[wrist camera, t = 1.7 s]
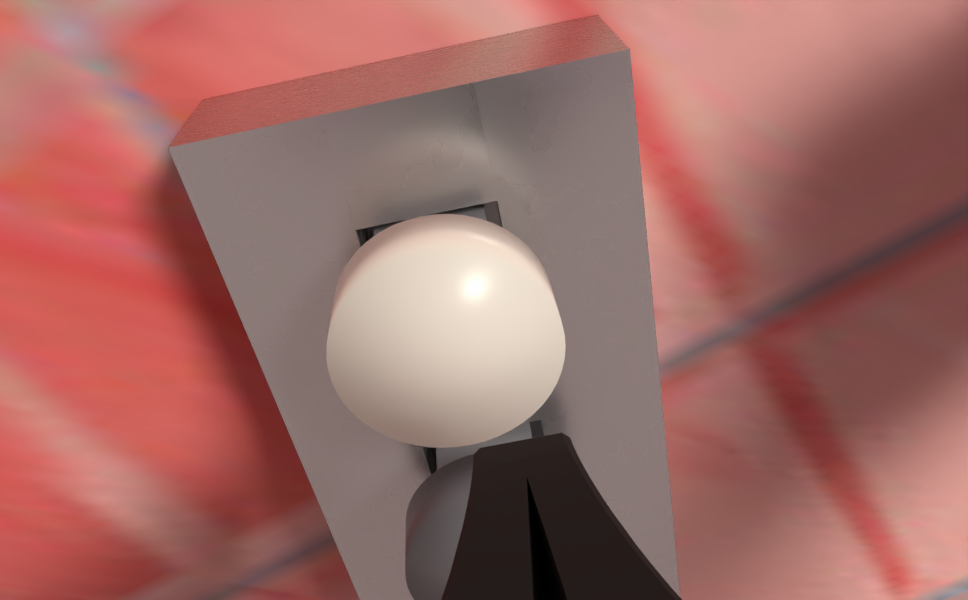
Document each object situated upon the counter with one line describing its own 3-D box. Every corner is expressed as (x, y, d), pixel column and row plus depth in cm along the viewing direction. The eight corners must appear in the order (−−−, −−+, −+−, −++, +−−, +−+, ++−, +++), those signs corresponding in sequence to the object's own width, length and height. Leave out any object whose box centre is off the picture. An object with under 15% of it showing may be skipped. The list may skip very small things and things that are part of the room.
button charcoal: (560, 374, 20) (589, 480, 17) (582, 498, 22) (610, 612, 19) (387, 409, 20) (383, 521, 17) (426, 529, 22) (429, 647, 19)
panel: (597, 15, 18) (629, 48, 15) (662, 593, 28) (687, 671, 26) (202, 99, 18) (167, 147, 15) (411, 641, 28) (411, 723, 26)
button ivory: (521, 149, 17) (547, 228, 14) (551, 321, 19) (579, 423, 16) (316, 192, 17) (294, 280, 14) (370, 358, 19) (362, 466, 16)
